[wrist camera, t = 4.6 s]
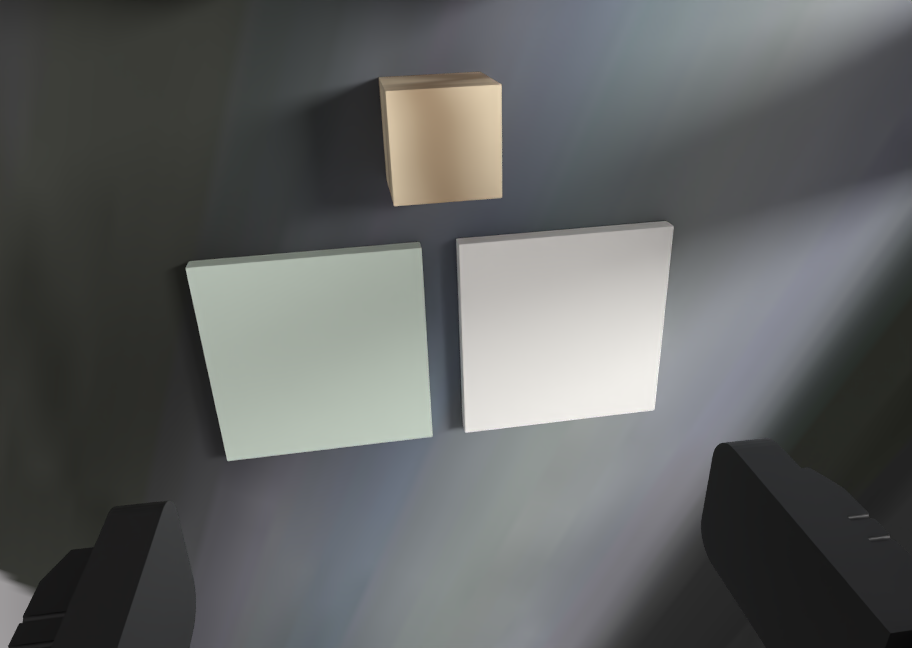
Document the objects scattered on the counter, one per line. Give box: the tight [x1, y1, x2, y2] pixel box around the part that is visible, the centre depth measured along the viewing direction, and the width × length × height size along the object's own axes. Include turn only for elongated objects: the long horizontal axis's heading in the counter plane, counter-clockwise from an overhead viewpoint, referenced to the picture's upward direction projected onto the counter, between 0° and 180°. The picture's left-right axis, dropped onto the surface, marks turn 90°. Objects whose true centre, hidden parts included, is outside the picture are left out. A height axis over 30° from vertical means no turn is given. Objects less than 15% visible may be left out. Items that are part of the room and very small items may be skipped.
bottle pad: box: [186, 242, 433, 461], centre depth 39 cm, size 12×12×1 cm
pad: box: [456, 221, 674, 433], centre depth 41 cm, size 12×12×1 cm
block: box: [379, 72, 502, 206], centre depth 33 cm, size 5×5×5 cm
